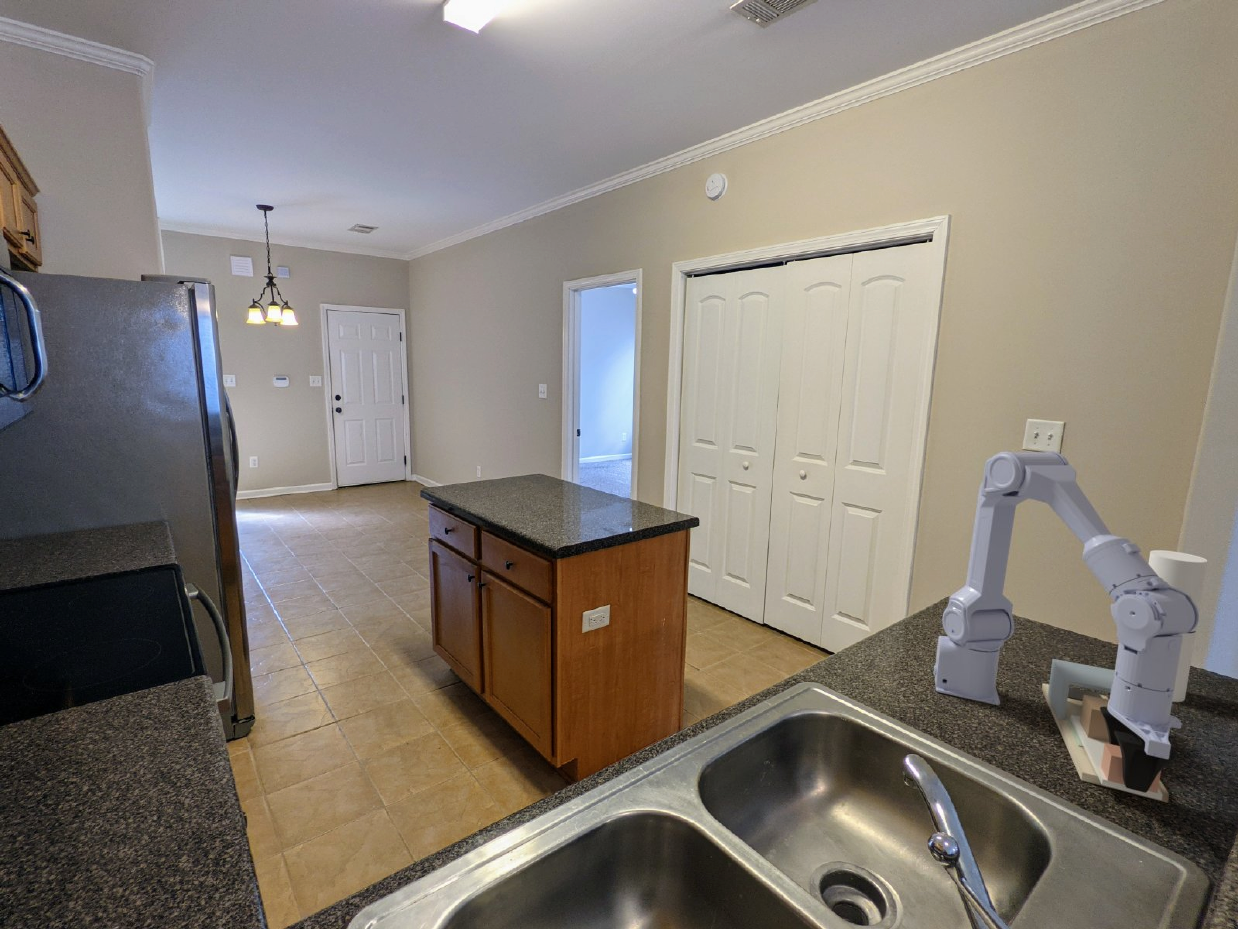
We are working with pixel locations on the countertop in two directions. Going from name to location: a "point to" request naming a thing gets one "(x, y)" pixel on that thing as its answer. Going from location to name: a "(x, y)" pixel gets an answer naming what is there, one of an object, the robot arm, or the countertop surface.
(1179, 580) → the cylindrical container
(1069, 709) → the board
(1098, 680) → the tunnel
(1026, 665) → the countertop surface
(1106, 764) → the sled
